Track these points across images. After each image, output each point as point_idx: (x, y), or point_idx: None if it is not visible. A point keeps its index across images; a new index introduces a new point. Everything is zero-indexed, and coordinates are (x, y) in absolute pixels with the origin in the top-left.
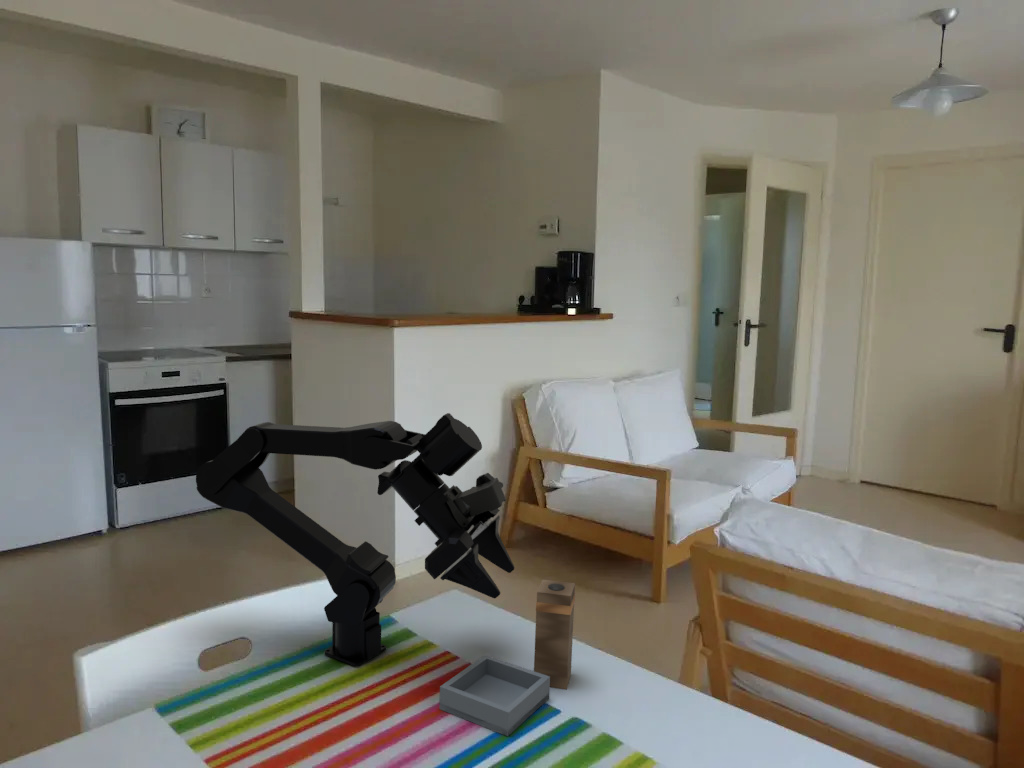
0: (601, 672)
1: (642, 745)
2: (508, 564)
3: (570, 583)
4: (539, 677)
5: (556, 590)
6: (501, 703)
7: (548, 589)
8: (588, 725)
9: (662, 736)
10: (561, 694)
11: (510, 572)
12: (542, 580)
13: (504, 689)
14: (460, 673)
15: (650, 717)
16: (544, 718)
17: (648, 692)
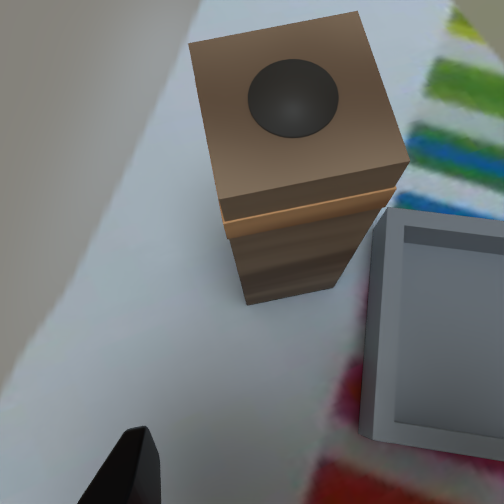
0: (188, 165)
1: (424, 28)
2: (144, 477)
3: (205, 58)
4: (403, 232)
5: (334, 83)
6: (492, 311)
7: (342, 122)
8: (419, 126)
9: (375, 7)
10: None
11: (156, 449)
12: (232, 195)
13: (427, 333)
14: None
15: None
16: (449, 213)
17: None
